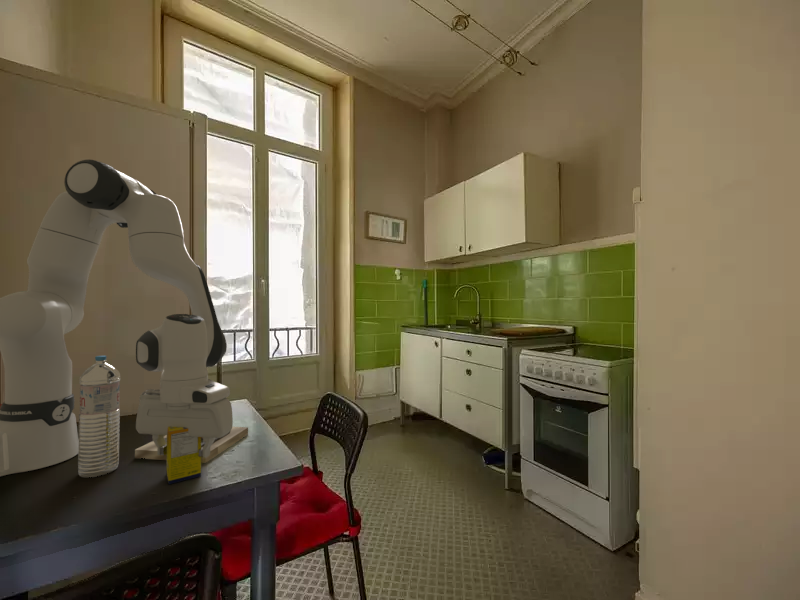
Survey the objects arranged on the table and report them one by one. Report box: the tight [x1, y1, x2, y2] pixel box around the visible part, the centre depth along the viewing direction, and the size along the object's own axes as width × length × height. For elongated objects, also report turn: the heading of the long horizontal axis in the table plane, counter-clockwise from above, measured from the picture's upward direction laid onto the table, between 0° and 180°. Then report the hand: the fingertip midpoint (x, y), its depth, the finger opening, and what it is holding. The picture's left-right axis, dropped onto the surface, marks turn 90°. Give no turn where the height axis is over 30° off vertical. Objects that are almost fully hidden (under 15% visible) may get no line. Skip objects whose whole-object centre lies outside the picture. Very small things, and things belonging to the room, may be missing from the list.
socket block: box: [134, 426, 249, 464], centre depth 92 cm, size 18×18×2 cm
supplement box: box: [166, 427, 202, 485], centre depth 76 cm, size 6×6×11 cm
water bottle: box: [77, 355, 121, 479], centre depth 78 cm, size 7×7×25 cm
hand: (183, 455), depth 77 cm, fingers closed on supplement box, 8 cm apart
